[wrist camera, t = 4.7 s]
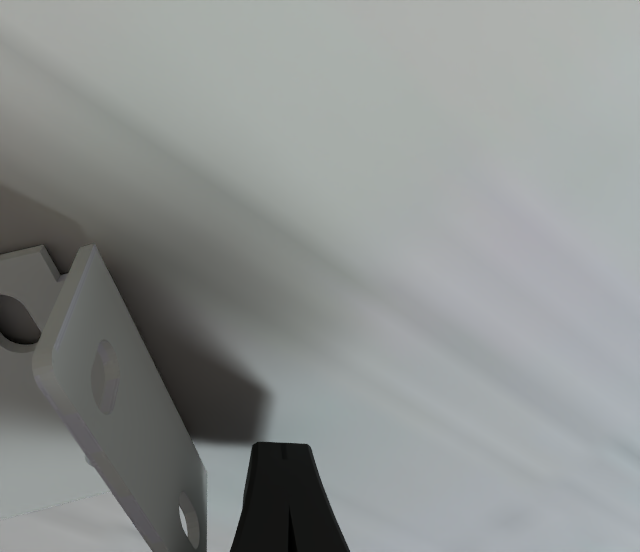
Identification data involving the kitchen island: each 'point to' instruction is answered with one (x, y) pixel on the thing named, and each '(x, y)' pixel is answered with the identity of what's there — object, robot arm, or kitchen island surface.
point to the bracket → (91, 407)
